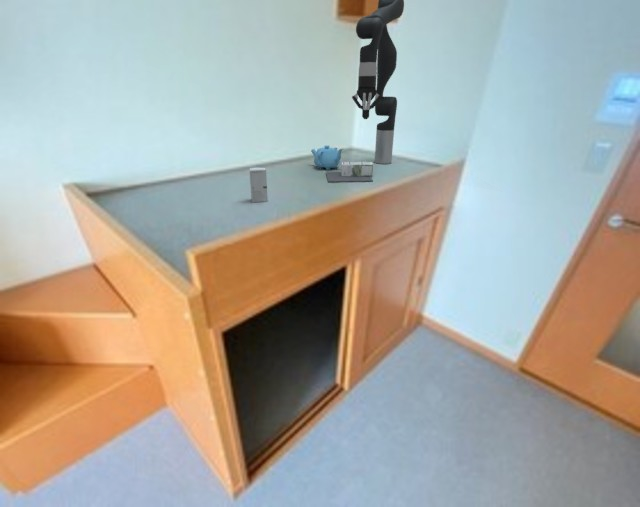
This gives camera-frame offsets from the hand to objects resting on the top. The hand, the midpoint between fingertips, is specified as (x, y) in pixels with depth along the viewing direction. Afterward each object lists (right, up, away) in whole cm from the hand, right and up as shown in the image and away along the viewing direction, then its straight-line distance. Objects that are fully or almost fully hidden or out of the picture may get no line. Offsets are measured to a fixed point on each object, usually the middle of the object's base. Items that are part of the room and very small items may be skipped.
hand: (365, 118), depth 154 cm
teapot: (-16, -15, +29) cm, 36 cm away
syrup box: (+5, -20, +10) cm, 23 cm away
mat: (-7, -23, +10) cm, 27 cm away
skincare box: (-43, -39, -20) cm, 62 cm away
